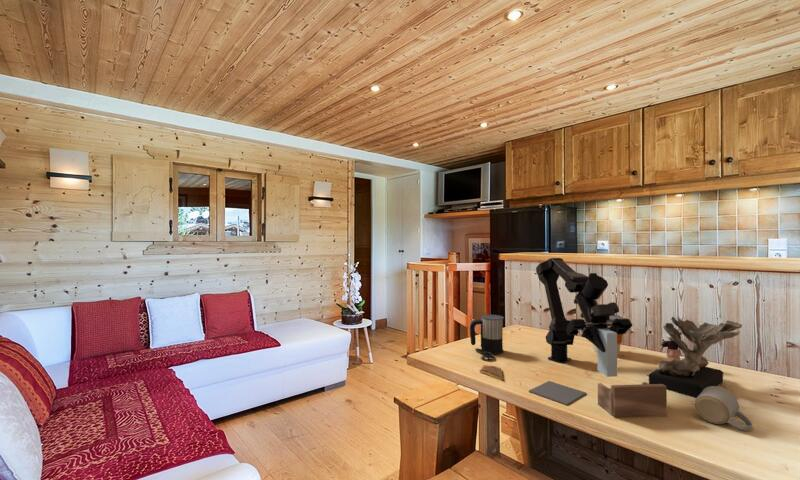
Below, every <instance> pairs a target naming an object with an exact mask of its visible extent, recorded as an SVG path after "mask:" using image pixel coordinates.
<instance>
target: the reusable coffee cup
mask: <svg viewBox="0 0 800 480" xmlns="http://www.w3.org/2000/svg"><path fill="white" fill-rule="evenodd" d="M609 317H610V319H609V320H607V321H606V322H607V323H613V321H614V320H615V319H616V318H624V317H623V316H621V315H619V314H615V315H611V316H609ZM623 336H624V334H619V335H617V356H619V355H620V350H621V344H622V342H623V338H624V337H623ZM592 345H593V351H594V353H596V354H597V355H598V348H597V347H596V346H595V345H594V344H593V343H592Z"/></svg>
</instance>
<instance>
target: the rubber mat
mask: <svg viewBox="0 0 800 480" xmlns="http://www.w3.org/2000/svg"><path fill="white" fill-rule="evenodd" d="M528 392H529V393H531V394H533V395H537V396H539V397H542V398H545V399H548V400H550V401H552V402H556V403H558V404H562V405H565V406H568V405H570V404H572V403H574V402H575V401H578V399H580V398H582V397H584V396H586V395H587V392H585V391H583V390H580V389H576V388H572V387H570V386H567V385H564V384H560V383H557V382H555V381H551V380H548V381H545V382H544V383H541V384H540V385H538V386H535V387H533V388H531V389H529V390H528Z"/></svg>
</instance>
